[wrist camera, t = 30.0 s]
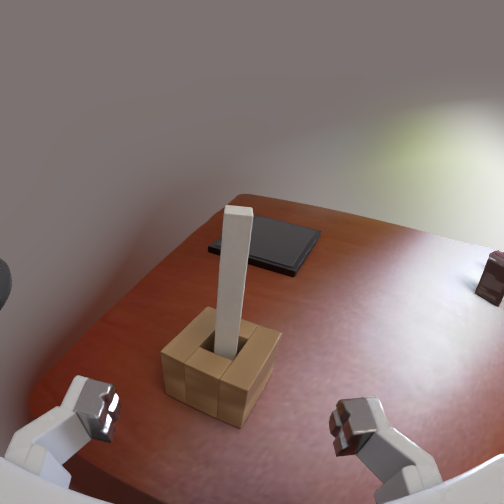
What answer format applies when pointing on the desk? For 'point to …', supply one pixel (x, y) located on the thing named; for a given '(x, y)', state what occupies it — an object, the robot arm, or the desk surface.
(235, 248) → the white square bar
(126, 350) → the desk surface
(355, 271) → the desk surface
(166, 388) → the pen stand
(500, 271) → the box
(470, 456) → the desk surface
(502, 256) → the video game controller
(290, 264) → the plate
